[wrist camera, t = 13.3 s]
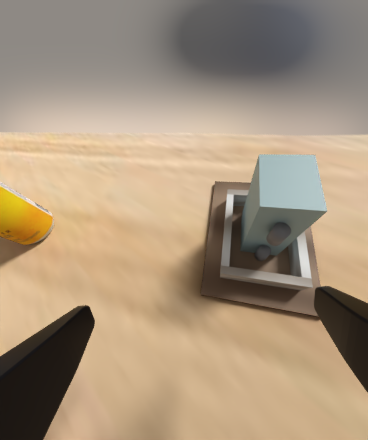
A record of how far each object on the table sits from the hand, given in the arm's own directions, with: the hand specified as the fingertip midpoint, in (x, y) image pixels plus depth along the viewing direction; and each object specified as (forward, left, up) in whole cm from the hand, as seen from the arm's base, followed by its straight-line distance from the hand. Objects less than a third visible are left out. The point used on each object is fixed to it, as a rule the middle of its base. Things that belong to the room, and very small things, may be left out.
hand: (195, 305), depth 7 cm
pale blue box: (+3, -10, -13) cm, 17 cm away
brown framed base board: (+3, -10, -14) cm, 17 cm away
